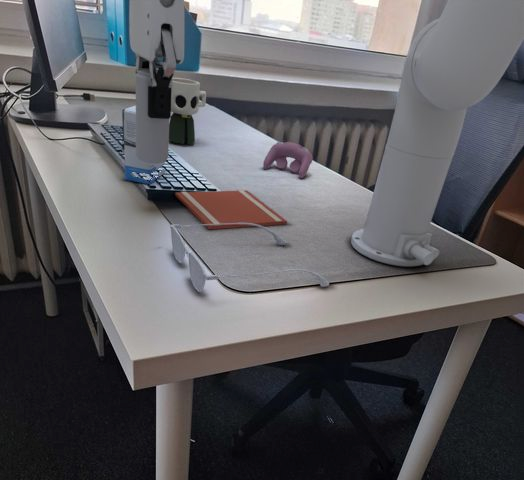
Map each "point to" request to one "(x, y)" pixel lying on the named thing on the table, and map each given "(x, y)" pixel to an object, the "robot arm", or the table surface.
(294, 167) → the video game controller
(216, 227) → the towel
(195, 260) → the eyeglasses
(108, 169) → the table surface
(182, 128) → the character mug
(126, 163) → the ink box
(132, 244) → the table surface
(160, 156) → the beverage can
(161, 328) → the table surface
